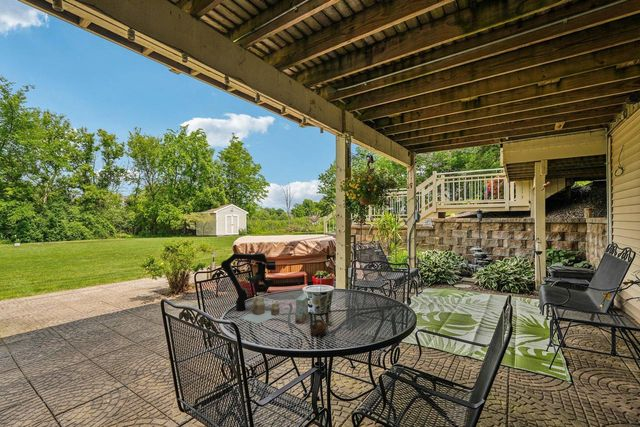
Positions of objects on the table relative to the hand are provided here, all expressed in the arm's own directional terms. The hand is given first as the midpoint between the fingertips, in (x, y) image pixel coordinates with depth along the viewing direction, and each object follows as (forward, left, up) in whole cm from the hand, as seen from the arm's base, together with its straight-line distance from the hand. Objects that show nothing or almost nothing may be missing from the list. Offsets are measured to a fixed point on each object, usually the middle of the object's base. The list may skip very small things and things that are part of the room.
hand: (260, 292), depth 210 cm
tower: (+17, -3, -12) cm, 21 cm away
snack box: (+35, +5, -13) cm, 38 cm away
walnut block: (+6, -8, -12) cm, 16 cm away
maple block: (+6, -8, -6) cm, 12 cm away
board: (+11, -11, -13) cm, 20 cm away
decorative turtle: (+58, -11, -13) cm, 60 cm away
